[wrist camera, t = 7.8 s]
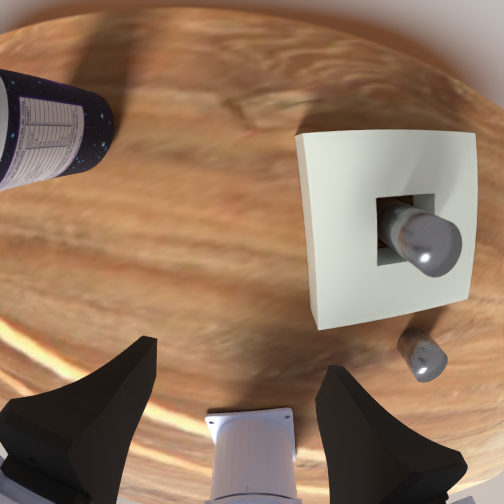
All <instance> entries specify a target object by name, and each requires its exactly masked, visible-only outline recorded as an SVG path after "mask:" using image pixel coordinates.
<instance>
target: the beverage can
mask: <svg viewBox="0 0 504 504" xmlns="http://www.w3.org/2000/svg"><path fill="white" fill-rule="evenodd" d="M113 133H114V119H113V114H112V111H111V108H110V106H109V105H108V103H107V102H106V101H105V99H104V98H102V97H101V96H100V95H98V94H96V93H93V92H90V91H86V90H83V89H80V88H76V87H73V86H69V85H66V84H62V83H58V82H55V81H51V80H47V79H43V78H39V77H35V76H31V75H26V74H22V73H18V72H13V71H8V70H3V69H0V191H2V190H6V189H10V188H14V187H18V186H22V185H26V184H30V183H34V182H38V181H43V180H47V179H52V178H56V177H61V176H66V175H71V174H76V173H82V172H85V171H88V170H90V169H92V168H93V167H95V166H96V165H97V164H98V163H99V162H100V161H101V160H102V159H103V158H104V156H105V155H106V153H107V151H108V149H109V147H110V145H111V142H112V138H113Z"/></svg>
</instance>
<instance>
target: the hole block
mask: <svg viewBox="0 0 504 504" xmlns="http://www.w3.org/2000/svg"><path fill="white" fill-rule="evenodd" d="M295 140H296V149H297V157H298V165H299V174H300V183H301V193H302V203H303V213H304V224H305V235H306V247H307V260H308V275H309V290H310V307H311V311H312V314H313V317H314V319H315V322H316V325H317V328H318V330H324V329H330V328H336V327H342V326H348V325H353V324H359V323H364V322H370V321H375V320H380V319H385V318H390V317H395V316H400V315H404V314H409V313H413V312H418V311H422V310H426V309H431V308H435V307H439V306H443V305H447V304H451V303H455V302H458V301H462V300H466V299H468V294H469V288H470V281H471V275H472V267H473V259H474V249H475V238H476V224H477V195H478V180H477V152H476V138H475V133H468V132H454V131H435V130H349V131H329V132H314V133H302V134H300V135H297V136H295ZM403 195H413V206H415V207H417V208H420V209H422V210H424V211H427V212H429V213H432V214H434V215H436V216H439V217H441V218H443V219H446V220H448V221H450V222H452V223H454V224H455V225H456V226H457V227H458V229H459V231H460V233H461V237H462V250H461V254H460V257H459V259H458V261H457V263H456V265H455V266H454V267H453V268H452V269H451V270H450V271H449V272H448V273H447V274H445V275H443V276H441V277H436V278H433V277H429V276H427V275H425V274H424V273H422V272H421V271H420V270H419V269H417V268H416V267H415V266H414V265H412V264H411V263H410V262H409V261H407V260H406V259H405V258H404V257H402V256H401V255H400V254H398V253H397V252H396V251H394V250H393V249H392V248H391V247H386V248H379V249H377V211H376V198H379V197H391V196H403Z"/></svg>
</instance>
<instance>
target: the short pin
mask: <svg viewBox="0 0 504 504" xmlns="http://www.w3.org/2000/svg"><path fill="white" fill-rule="evenodd" d="M397 349H398V351H399V352H400V354H401V356H402V357H403V359H404V360H405V362H406V363H407V365H408V367H409V368H410V370H411V371H412V373H413V374H414V376H415V378H416V379H417V380H418V381H419V382H429V381H431V380H433V379H435V378H436V377H438V376H439V375H440V374H441V373H442V372H443V370H444V369H445V367H446V365H447V361H448V358H447V355H446V354H445V353H444V351H443V350H442V349H441V348H440V347H439V345H438V344H437V343H436V342H435V341H434V339H433V338H432V337H431V336H430V335H429V333H428V332H427V331H426V330H425V329H424V328H423V327H421V326H414V327H411V328H409V329H407V330H406V331H405V332H404V333H403V334H402V335H401V336H400V338H399V340H398V343H397Z"/></svg>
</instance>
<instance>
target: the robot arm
mask: <svg viewBox="0 0 504 504" xmlns="http://www.w3.org/2000/svg"><path fill="white" fill-rule="evenodd" d="M156 363H157V339H156V338H152V337H147V336H142V337H140V338H139V339H138V340H136V341H135V342H134V343H133V344H132V345H130V346H129V347H128V348H127V349H126V350H124V351H123V352H122V353H120V354H119V355H118V356H116V357H115V358H114V359H112V360H111V361H110V362H108V363H107V364H105V365H104V366H102V367H101V368H99V369H98V370H96V371H94V372H93V373H91V374H89V375H87V376H86V377H84V378H82V379H80V380H78V381H76V382H73V383H71V384H68V385H66V386H63V387H61V388H58V389H55V390H52V391H49V392H45V393H42V394H38V395H33V396H28V397H22V398H16V399H11V400H10V401H9V402H8V403H7V404H6V405H5V407H4V408H3V409H2V411H1V412H0V442H1V444H2V445H3V447H4V448H5V450H6V451H7V453H8V456H7V458H6V459H5V460H4V459H3V458H2V457H1V456H0V504H116V501H117V496H118V491H119V486H120V482H121V477H122V473H123V469H124V465H125V461H126V457H127V454H128V450H129V447H130V443H131V440H132V437H133V435H134V432H135V430H136V428H137V425H138V423H139V421H140V418H141V416H142V414H143V412H144V409H145V407H146V405H147V402H148V400H149V398H150V395H151V392H152V389H153V385H154V382H155V378H156ZM315 402H316V414H317V421H318V426H319V430H320V435H321V439H322V443H323V447H324V452H325V456H326V461H327V466H328V476H329V491H330V504H446V502H445V501H447V500H448V498H449V497H448V494H447V491H448V490H449V489H451V488H452V487H453V486H454V485H455V484H456V483H457V482H458V481H459V480H460V479H461V478H462V477H463V476H464V475H465V473H466V471H467V468H468V466H467V464H466V462H465V460H464V458H463V456H462V454H461V453H460V452H459V451H456V450H453V449H450V448H448V447H445V446H442V445H440V444H438V443H435V442H433V441H431V440H429V439H427V438H425V437H423V436H422V435H420V434H418V433H417V432H415V431H413V430H412V429H410V428H408V427H407V426H406V425H404V424H403V423H401V422H400V421H399V420H397V419H396V418H395V417H393V416H392V415H391V414H390V413H389V412H387V411H386V410H385V409H384V408H383V407H382V406H381V405H380V404H379V403H378V402H377V401H376V400H374V399H373V398H372V397H371V396H370V394H369V393H368V392H367V391H366V390H365V389H364V388H363V387H362V386H361V385H360V384H359V383H358V382H357V381H356V380H355V378H354V377H353V376H352V375H351V374H350V373H349V372H348V371H347V370H346V369H345V368H344V367H343V366H332V365H330V366H329V368H328V371H327V373H326V375H325V378H324V380H323V382H322V385H321V387H320V389H319V392H318V394H317V396H316V398H315ZM287 415H288V416H287ZM205 420H206V423H207V426H208V428H209V431H210V434H211V436H212V439H213V441H214V444H215V454H214V463H213V473H212V483H211V493H210V500H205V504H302V500H301V499H298V498H297V489H296V481H295V472H294V463H293V462H294V461H295V460H296V453H295V439H294V425H293V412H292V409H291V408H278V409H269V410H259V411H247V412H233V413H213V414H207V415H206V416H205ZM211 421H213V422H211ZM452 504H475V502H474V500H473V497H472V496H469V497H466V498H464V499H461V500H459V501H456V502H454V503H452Z"/></svg>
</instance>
